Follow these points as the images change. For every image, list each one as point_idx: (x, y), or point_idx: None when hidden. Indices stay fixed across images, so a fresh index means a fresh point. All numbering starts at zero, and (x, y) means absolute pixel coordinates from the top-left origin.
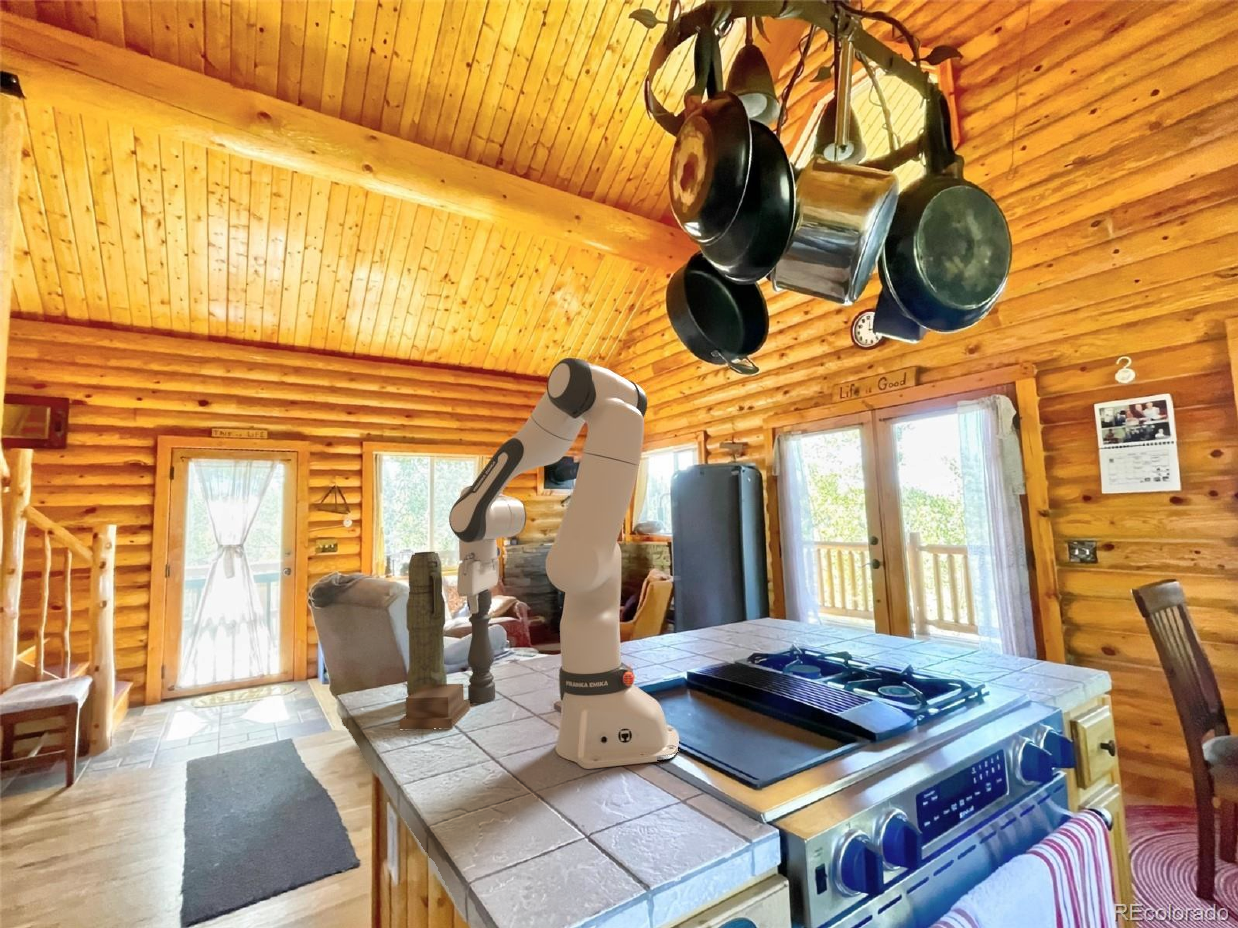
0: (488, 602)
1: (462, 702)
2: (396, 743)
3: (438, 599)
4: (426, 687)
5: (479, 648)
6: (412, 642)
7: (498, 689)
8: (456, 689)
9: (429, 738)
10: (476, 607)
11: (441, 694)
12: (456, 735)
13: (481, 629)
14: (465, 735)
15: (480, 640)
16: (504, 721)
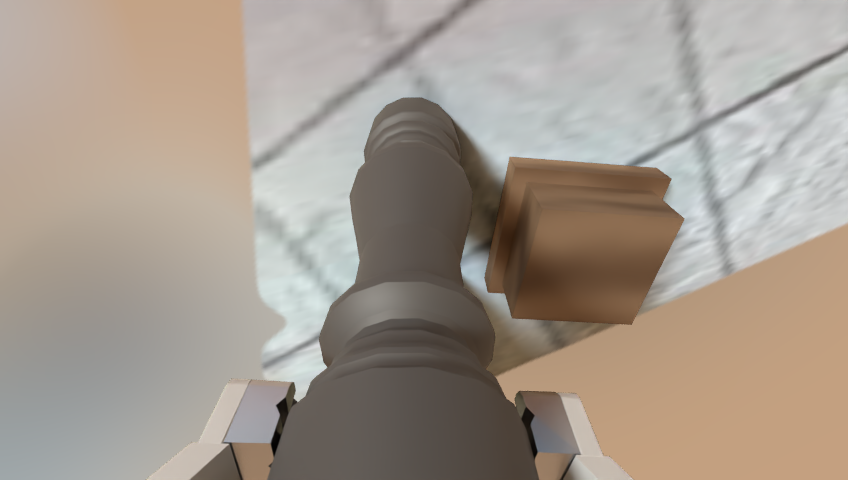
0: (471, 408)
1: (539, 183)
2: (690, 265)
3: None
4: (544, 305)
5: (465, 226)
6: None
7: (305, 106)
8: (607, 214)
9: (697, 205)
10: (594, 442)
11: (644, 245)
12: (713, 141)
13: (458, 278)
14: (728, 115)
15: (459, 244)
16: (666, 6)
